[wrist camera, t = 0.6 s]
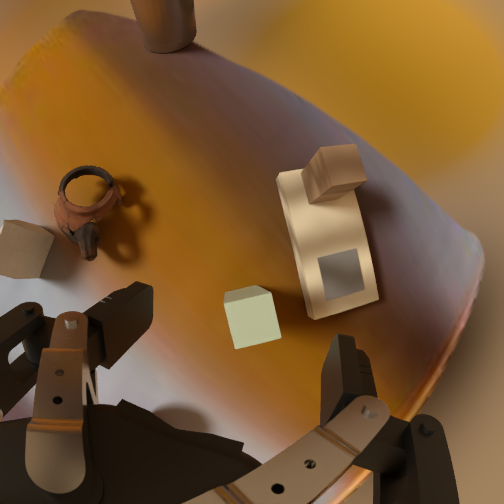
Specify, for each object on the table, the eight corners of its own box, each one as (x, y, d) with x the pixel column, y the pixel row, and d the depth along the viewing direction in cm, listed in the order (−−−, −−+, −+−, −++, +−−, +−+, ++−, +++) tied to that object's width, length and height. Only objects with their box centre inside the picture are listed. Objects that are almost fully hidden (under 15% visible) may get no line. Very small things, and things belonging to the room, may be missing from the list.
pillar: (224, 292, 35) (223, 303, 23) (256, 284, 36) (271, 292, 24) (232, 323, 35) (235, 349, 23) (263, 315, 35) (281, 337, 24)
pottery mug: (57, 205, 34) (48, 167, 28) (114, 192, 39) (116, 154, 33) (68, 280, 31) (56, 251, 24) (134, 263, 36) (137, 231, 29)
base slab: (275, 180, 37) (294, 145, 26) (337, 170, 38) (373, 137, 27) (307, 316, 36) (339, 333, 25) (368, 297, 37) (415, 305, 26)
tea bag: (55, 236, 34) (12, 227, 24) (39, 278, 33) (-5, 279, 23) (39, 225, 33) (-3, 214, 23) (24, 266, 33) (-19, 264, 23)
